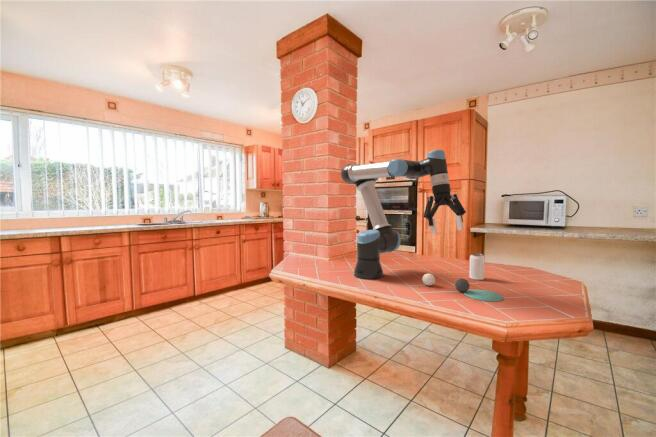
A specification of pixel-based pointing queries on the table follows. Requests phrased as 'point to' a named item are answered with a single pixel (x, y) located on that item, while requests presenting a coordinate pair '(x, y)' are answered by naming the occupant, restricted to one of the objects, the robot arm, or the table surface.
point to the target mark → (484, 295)
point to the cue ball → (428, 279)
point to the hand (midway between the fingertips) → (447, 231)
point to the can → (477, 266)
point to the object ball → (462, 285)
